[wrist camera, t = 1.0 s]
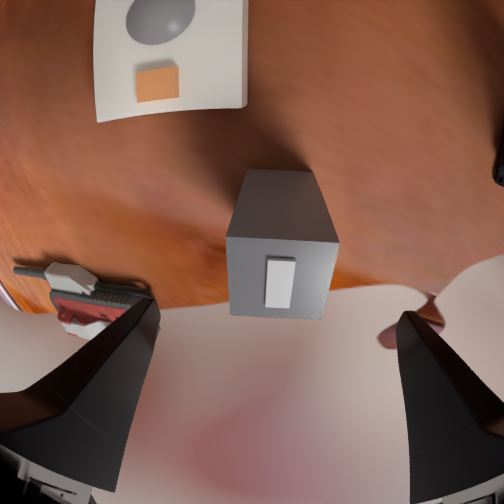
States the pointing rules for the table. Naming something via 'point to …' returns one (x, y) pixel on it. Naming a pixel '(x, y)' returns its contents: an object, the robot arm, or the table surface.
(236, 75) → the power strip
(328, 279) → the grey rectangular block
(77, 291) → the walkie-talkie
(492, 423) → the robot arm
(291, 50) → the table surface
